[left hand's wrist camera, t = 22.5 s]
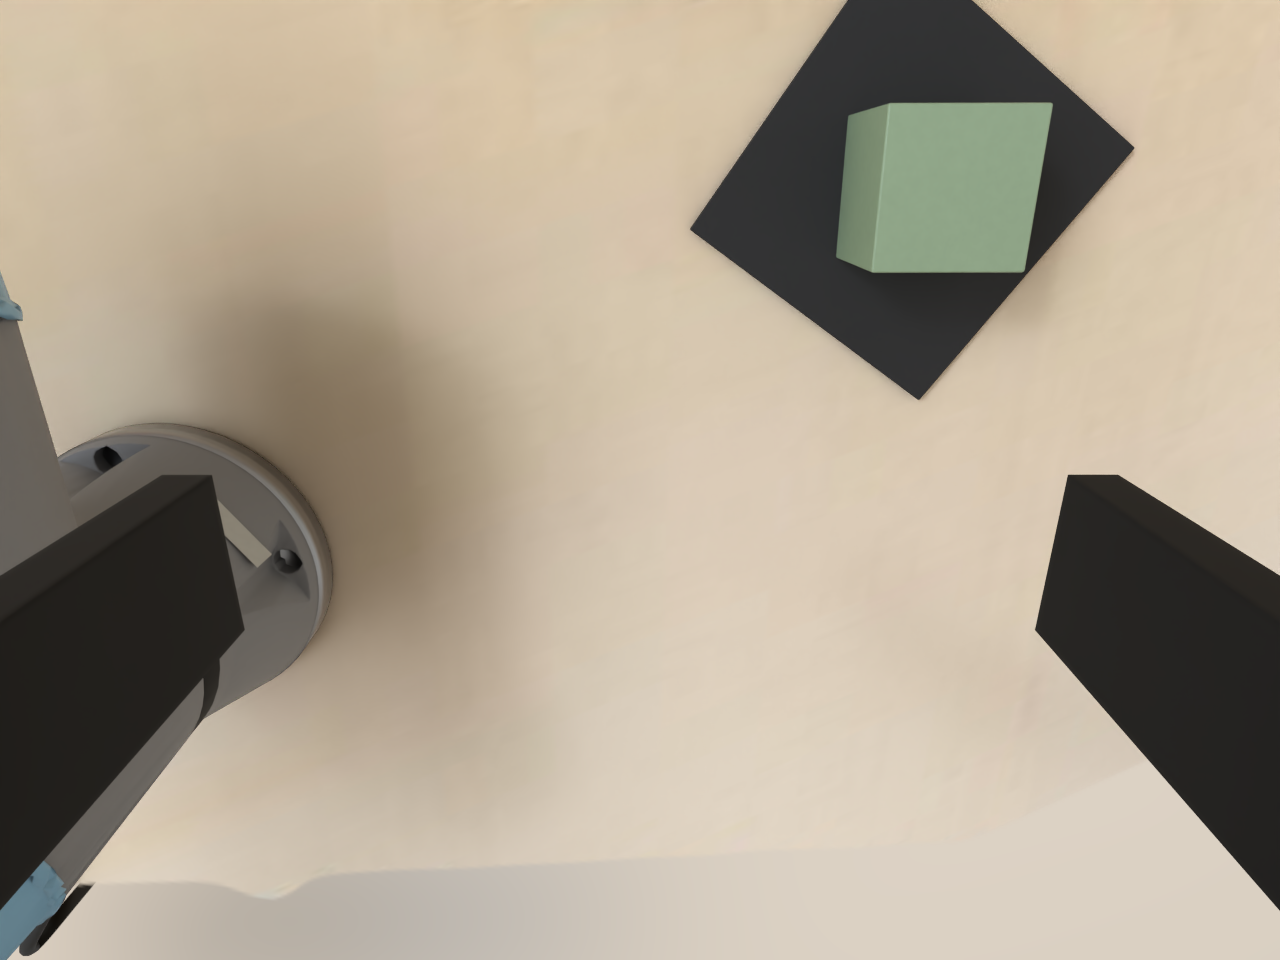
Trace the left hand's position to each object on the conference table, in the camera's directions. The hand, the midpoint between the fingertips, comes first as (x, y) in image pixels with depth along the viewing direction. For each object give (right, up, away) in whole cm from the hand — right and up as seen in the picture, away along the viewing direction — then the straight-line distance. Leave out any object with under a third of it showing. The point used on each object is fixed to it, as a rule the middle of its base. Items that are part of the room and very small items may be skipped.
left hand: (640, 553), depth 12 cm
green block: (+12, +14, +23) cm, 29 cm away
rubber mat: (+12, +14, +23) cm, 30 cm away
